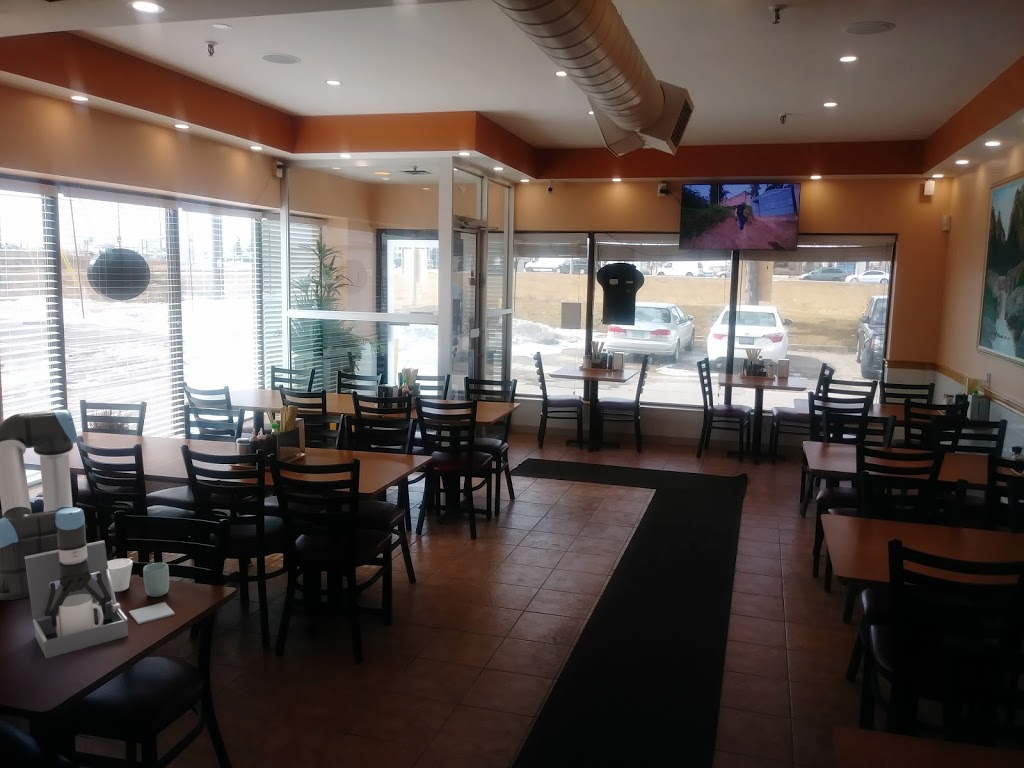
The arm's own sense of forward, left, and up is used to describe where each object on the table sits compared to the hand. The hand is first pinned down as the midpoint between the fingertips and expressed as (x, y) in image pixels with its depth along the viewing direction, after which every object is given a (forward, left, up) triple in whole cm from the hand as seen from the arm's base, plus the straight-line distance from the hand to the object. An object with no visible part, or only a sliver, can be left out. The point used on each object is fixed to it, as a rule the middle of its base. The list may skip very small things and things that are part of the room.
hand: (80, 630), depth 245 cm
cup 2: (-18, +27, -2) cm, 33 cm away
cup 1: (-32, +18, -2) cm, 37 cm away
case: (0, 0, -2) cm, 2 cm away
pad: (-3, +21, -2) cm, 22 cm away
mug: (0, +1, -2) cm, 2 cm away
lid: (-11, 0, +13) cm, 17 cm away
